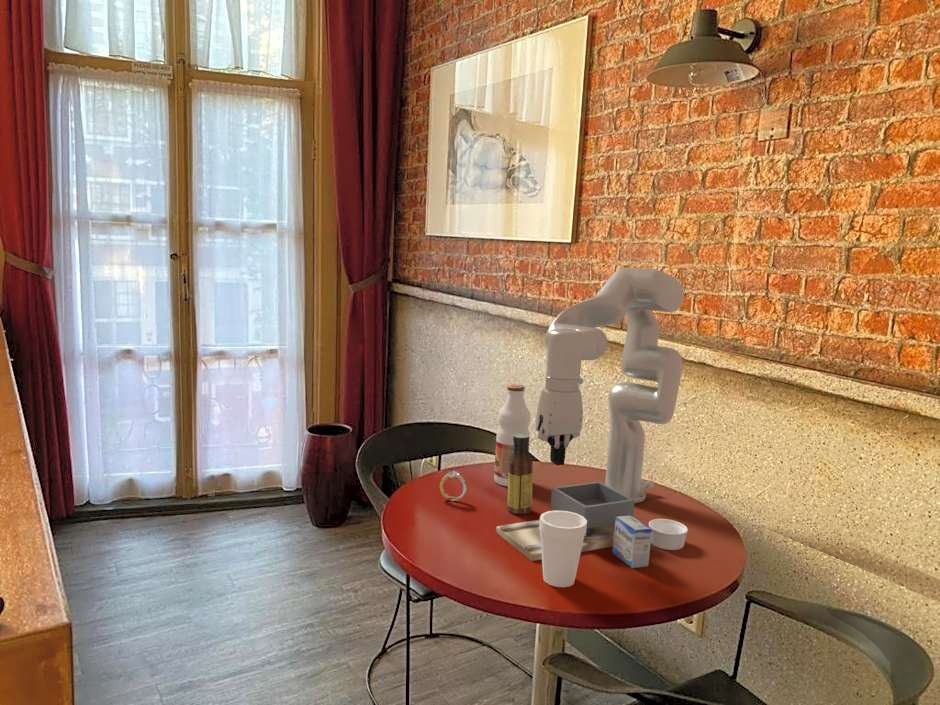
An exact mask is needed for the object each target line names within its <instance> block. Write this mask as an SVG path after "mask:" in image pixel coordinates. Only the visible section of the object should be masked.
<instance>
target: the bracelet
mask: <svg viewBox="0 0 940 705" xmlns="http://www.w3.org/2000/svg"><path fill="white" fill-rule="evenodd" d="M461 474H462V473H461V472H459V471H457V470H456V471H455V470H452V471H450V470H449V471H448V473H446V474H445V475H444V476H443V477H442V478H441V481H439V482H440V483H439V490H440V493H441V495H442V496H443V497H444V498H445V499H447V500H449V501H451V502H454V501H459V500H461V499H462V498H463V497H464V496H465V494H466V492H467V488H468V487H467V486H468V485H467V482H466V480H465V478H464V477H463V476H462V475H461ZM451 478H452V479H453V478H456V479H458V480H460V481H461V484H462V486H463V491H462V493H461V494H460V495H459V496H453V495H452V496H450V495H448V494H447V493H446V492H445V490H444V483H445V481H447V480H449V479H451Z"/></svg>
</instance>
